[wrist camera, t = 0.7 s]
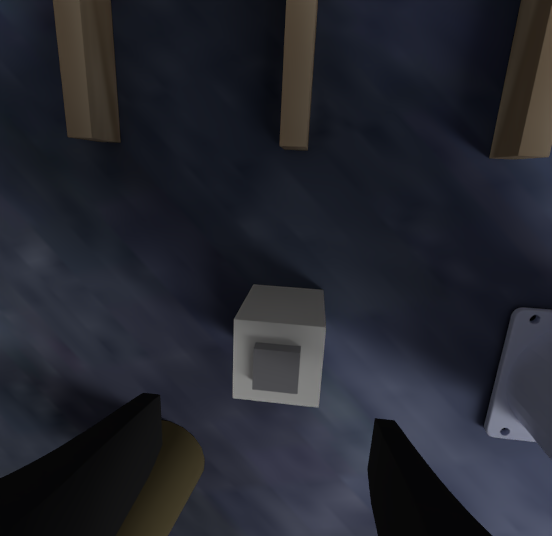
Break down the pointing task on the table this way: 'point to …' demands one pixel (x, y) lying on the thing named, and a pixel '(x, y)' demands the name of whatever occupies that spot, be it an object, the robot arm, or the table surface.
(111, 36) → the socket board
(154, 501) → the cork
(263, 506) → the table surface
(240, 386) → the plug
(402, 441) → the robot arm
